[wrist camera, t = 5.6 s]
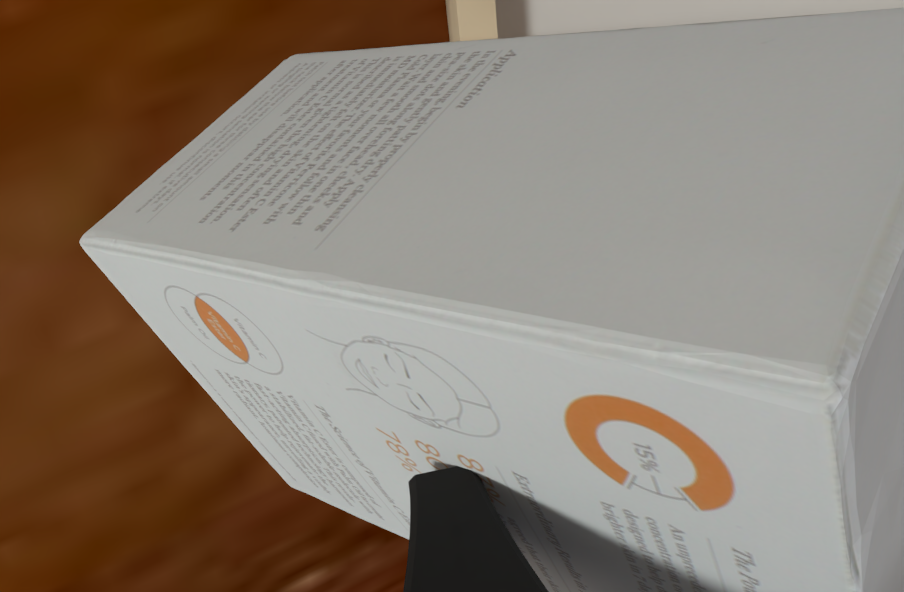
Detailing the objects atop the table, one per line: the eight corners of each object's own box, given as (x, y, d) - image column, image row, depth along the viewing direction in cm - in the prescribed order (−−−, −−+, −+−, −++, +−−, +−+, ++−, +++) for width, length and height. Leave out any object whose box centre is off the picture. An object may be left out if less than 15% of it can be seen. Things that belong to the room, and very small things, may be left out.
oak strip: (512, 383, 24) (525, 417, 23) (486, 388, 24) (497, 422, 23) (478, -35, 17) (493, -19, 16) (442, -29, 17) (454, -12, 16)
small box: (432, 305, 22) (989, 423, 14) (286, 490, 19) (887, 781, 11) (289, 41, 17) (1015, -15, 9) (62, 234, 14) (844, 411, 6)
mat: (881, 345, 26) (889, 352, 26) (522, 418, 25) (525, 427, 25) (992, -91, 19) (1004, -88, 18) (489, -12, 18) (493, -8, 17)
